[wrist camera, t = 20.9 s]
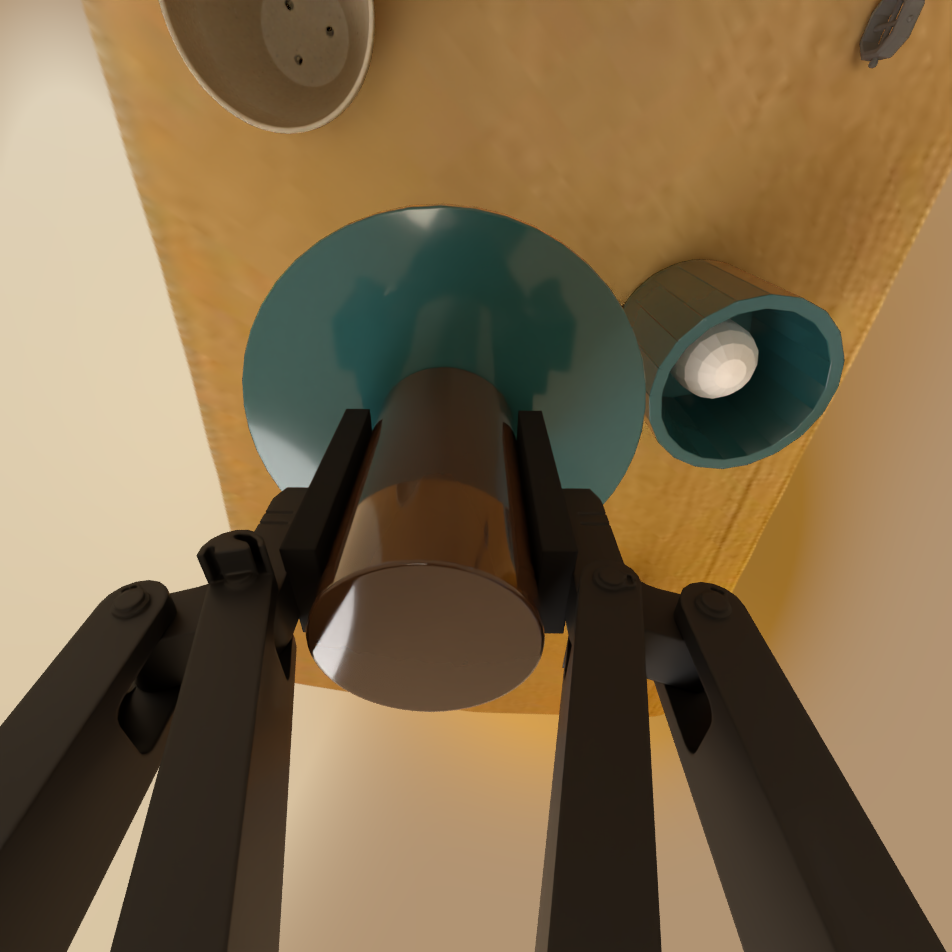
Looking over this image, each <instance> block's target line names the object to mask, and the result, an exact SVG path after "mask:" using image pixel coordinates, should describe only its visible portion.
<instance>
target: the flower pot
mask: <svg viewBox="0 0 952 952" xmlns="http://www.w3.org/2000/svg"><path fill="white" fill-rule="evenodd" d="M159 4H160V7H161V11H162V14H163V17H164V20H165V22H166V25H167V28H168V30H169V33H170V35H171V38H172V40H173V42H174V44H175V46H176V48H177V50H178V52H179V54H180V55H181V57H182V59H183V61H184V62H185V64H186V66H187V67H188V69H189V70H190V71H191V73H192V74H193V76H194V77H195V78H196V79H197V81H198V82H199V83H200V84H201V86H202V87H203V88H204V89H205V90H206V92H207V93H208V94H209V95H210V96H211V97H212V98H213V99H214V100H215V101H217V102H218V103H219V104H220V105H221V106H222V107H223V108H225V109H226V110H227V111H229V112H230V113H232V114H233V115H234V116H236V117H237V118H239V119H241V120H243V121H244V122H246V123H248V124H250V125H252V126H255V127H257V128H260V129H263V130H267V131H271V132H275V133H285V134H292V133H302V132H307V131H311V130H314V129H317V128H319V127H322V126H324V125H326V124H328V123H329V122H331V121H332V120H334V119H335V118H337V117H338V116H339V115H340V114H341V113H343V112H344V111H345V110H346V109H347V107H348V106H349V105H350V104H351V103H352V101H353V100H354V99H355V97H356V96H357V94H358V92H359V91H360V89H361V87H362V85H363V83H364V80H365V78H366V75H367V72H368V69H369V66H370V62H371V58H372V53H373V46H374V36H375V11H374V0H159ZM286 4H288V5H289V6H290V10H289V9H288V8H287V7H286ZM328 27H331V28H332V30H331V31H327V28H328ZM301 58H302V63H301V64H300V59H301Z"/></svg>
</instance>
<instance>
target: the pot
mask: <svg viewBox="0 0 952 952" xmlns="http://www.w3.org/2000/svg"><path fill="white" fill-rule="evenodd" d="M623 309H624V311H625V313H626V315H627V317H628V319H629V322H630V324H631V326H632V328H633V330H634V332H635V335H636V338H637V342H638V345H639V349H640V352H641V355H642V359H643V366H644V373H645V381H646V408H645V415H644V420H645V422H646V424H647V425H648V427H649V428H650V430H651V432H652V433H653V435H654V436H655V438H656V439H657V441H658V443H659V444H660V445H661V446H662V447H664V448H665V449H666V450H667V451H668V452H669V453H670V454H671V455H672V456H673V457H674V458H676V459H679V460H681V461H683V462H686V463H688V464H690V465H693V466H695V467H696V466H697V467H705V468H716V469H725V468H731V467H737V466H743V465H748V464H751V463H753V462H756V461H758V460H761V459H763V458H765V457H768V456H770V455H773V454H775V453H777V452H779V451H780V450H782V449H783V448H784V447H786V446H787V445H789V444H790V443H792V442H793V441H795V440H796V439H798V438H799V437H801V435H803V434H804V433H805V432H806V431H807V430H808V429H809V428H810V427H811V426H812V424H813V423H814V422H815V421H816V420H817V419H818V418H819V417H820V416H821V415H822V414H823V412H824V411H825V409H826V408H827V406H828V404H829V402H830V401H831V399H832V397H833V395H834V394H835V392H836V390H837V388H838V386H839V382H840V378H841V374H842V369H843V365H844V361H845V359H844V351H843V345H842V338H841V332H840V330H839V329H838V327H837V326H836V324H835V323H834V321H833V320H832V318H831V317H830V316H829V314H828V313H827V312H826V311H825V310H824V309H822V308H820V307H818V306H817V305H815V304H813V303H811V302H809V301H808V300H806V299H804V298H802V297H800V296H798V295H796V294H793V293H791V292H789V291H787V290H785V289H782V288H780V287H778V286H776V285H774V284H772V283H769V282H767V281H765V280H763V279H761V278H758V277H756V276H754V275H752V274H750V273H747V272H745V271H743V270H741V269H739V268H737V267H734V266H732V265H730V264H728V263H725V262H719V261H715V260H707V259H698V260H689V261H684V262H680V263H677V264H674V265H671V266H669V267H667V268H665V269H663V270H661V271H659V272H658V273H656V274H654V275H653V276H651V277H650V278H649V279H647V280H646V281H645V282H644V283H642V284H641V285H640V286H639V287H638V288H637V289H636V290H635V291H634V292H633V294H632V295H631V296H630V297H629V299H628V300H627V301H626V303H625V304H624V306H623ZM728 319H731V320H733V321H734V322H736V323H737V324H739V325H740V326H741V327H743V328H744V329H745V330H747V331H748V332H749V333H750V334H751V336H752V338H753V339H754V341H755V344H756V346H757V348H758V363H757V366H756V368H755V370H754V372H753V374H752V376H751V378H750V380H749V381H748V382H747V383H746V384H745V385H744V386H743V387H742V388H741V389H739V390H737V391H736V392H734V393H732V394H730V395H727V396H723V397H719V398H714V399H711V398H704V397H699V396H697V395H695V394H693V393H692V392H690V391H689V390H687V389H686V388H684V387H683V386H682V385H681V384H680V383H679V382H678V381H677V380H676V379H675V377H674V376H673V375H672V374H671V373H670V371H671V369H672V368H673V367H674V365H675V364H676V362H677V361H678V360H679V358H680V357H681V355H682V354H683V353H684V351H685V350H686V348H687V347H689V346H690V345H691V344H692V343H693V342H695V341H696V340H697V339H698V338H699V337H700V336H702V335H703V334H704V333H705V332H706V331H707V330H709V329H710V328H712V327H714V326H716V325H718V324H720V323H722V322H724V321H726V320H728Z"/></svg>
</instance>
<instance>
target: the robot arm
mask: <svg viewBox="0 0 952 952" xmlns="http://www.w3.org/2000/svg"><path fill="white" fill-rule="evenodd" d="M371 434H372V424H371V415H370V409H346V410H345V412H344V414H343V416H342V419H341V421H340V423H339V425H338V427H337V429H336V431H335V433H334V435H333V437H332V439H331V441H330V444H329V446H328V448H327V450H326V452H325V454H324V456H323V458H322V460H321V462H320V464H319V467H318V469H317V471H316V473H315V475H314V477H313V479H312V481H311V483H310V485H309V487H287V488H285V489H284V490H283V491H282V492H280V493H279V494H278V495H277V496H276V497H274V498H273V500H272V501H271V503H270V505H269V507H268V509H267V510H266V514H264V516H263V517H262V519H261V521H260V524H258V526H257V528H256V530H255V532H253V531H250V530H235V531H231V532H227V533H223V534H221V535H219V536H217V537H215V538H213V539H211V540H210V541H208V542H207V543H206V544H205V545H204V546H202V547H201V549H200V551H199V552H198V554H197V558H198V560H199V563H200V565H201V567H202V569H203V572H204V574H205V577H206V579H207V581H208V584H207V585H203V586H200V587H196V588H192V589H188V590H183V591H179V592H175V593H169V591H168V589H167V588H166V586H164V585H163V584H162V583H160V582H157V581H151V580H147V581H139V582H134V583H132V584H129V585H126V586H123V587H121V588H119V589H118V590H116V591H114V592H113V593H111V594H109V595H108V596H107V597H106V598H105V599H104V600H103V601H102V602H101V603H100V604H99V605H98V606H97V607H96V608H95V610H94V611H93V612H92V614H91V615H90V616H89V617H88V618H87V620H86V621H85V622H84V623H83V625H82V626H81V627H80V628H79V630H78V631H77V632H76V633H75V635H74V636H73V637H72V638H71V639H70V641H69V642H68V643H67V644H66V646H65V647H64V648H63V649H62V651H61V652H60V653H59V654H58V656H57V657H56V658H55V659H54V660H53V662H52V663H51V664H50V665H49V667H48V668H47V669H46V670H45V672H44V673H43V674H42V675H41V677H40V678H39V679H38V680H37V682H36V683H35V684H34V685H33V686H32V688H31V689H30V690H29V692H28V693H27V694H26V695H25V696H24V698H23V699H22V700H21V701H20V703H19V704H18V705H17V706H16V708H15V709H14V710H13V711H12V712H11V714H10V715H9V716H8V717H7V719H6V720H5V721H4V723H3V724H2V725H1V726H0V952H67V950H68V948H69V946H70V944H71V942H72V940H73V938H74V936H75V934H76V932H77V930H78V928H79V926H80V924H81V922H82V920H83V918H84V916H85V914H86V912H87V910H88V908H89V906H90V904H91V902H92V900H93V898H94V896H95V894H96V892H97V890H98V888H99V886H100V884H101V882H102V880H103V878H104V876H105V874H106V872H107V870H108V868H109V866H110V864H111V862H112V860H113V858H114V856H115V854H116V852H117V850H118V848H119V846H120V844H121V842H122V840H123V838H124V836H125V834H126V832H127V830H128V828H129V826H130V824H131V822H132V820H133V818H134V816H135V814H136V812H137V810H138V808H139V806H140V804H141V802H142V800H143V798H144V796H145V794H146V792H147V790H148V788H149V786H150V784H151V782H152V780H153V778H154V776H155V774H156V772H157V770H158V768H159V771H158V774H157V778H156V782H155V786H154V789H153V793H152V797H151V801H150V804H149V808H148V812H147V816H146V819H145V823H144V827H143V831H142V834H141V838H140V842H139V846H138V849H137V853H136V857H135V861H134V864H133V868H132V872H131V876H130V879H129V883H128V887H127V891H126V894H125V898H124V902H123V906H122V909H121V913H120V917H119V921H118V924H117V928H116V932H115V935H114V939H113V943H112V947H111V951H110V952H278V951H279V934H280V917H281V902H282V885H283V868H284V851H285V834H286V817H287V800H288V783H289V766H290V749H291V731H292V715H293V698H294V682H295V665H296V648H297V647H296V642H295V638H294V635H293V633H294V630H295V627H296V625H297V622H298V619H300V623H301V626H302V630H303V632H306V622H307V618H308V614H309V611H310V608H311V605H312V602H313V600H314V597H315V594H316V591H317V588H318V585H319V582H320V580H321V577H322V574H323V571H324V568H325V565H326V562H327V560H328V557H329V554H330V551H331V548H332V545H333V542H334V540H335V537H336V534H337V531H338V528H339V525H340V522H341V520H342V517H343V514H344V511H345V508H346V505H347V502H348V500H349V497H350V494H351V491H352V488H353V485H354V482H355V480H356V477H357V474H358V471H359V468H360V465H361V462H362V459H363V457H364V454H365V451H366V448H367V445H368V442H369V439H370V437H371ZM516 443H517V450H518V457H519V463H520V470H521V477H522V484H523V491H524V497H525V504H526V511H527V518H528V525H529V531H530V538H531V545H532V552H533V559H534V566H535V572H536V579H537V586H538V593H539V600H540V606H541V613H542V620H543V627H544V633H563V632H564V626H565V621H566V624H567V629H568V634H569V636H568V641H567V647H566V652H565V657H564V662H563V667H562V668H564V674H563V684H562V694H561V703H560V713H559V723H558V733H557V742H556V752H555V762H554V772H553V781H552V792H551V801H550V810H549V820H548V830H547V839H546V849H545V860H544V868H543V878H542V888H541V897H540V907H539V917H538V927H537V936H536V946H535V952H661V934H660V916H659V898H658V878H657V860H656V842H655V825H654V824H655V823H654V806H653V805H654V804H653V787H652V769H651V749H650V731H649V712H648V694H647V679H650V680H654V683H655V686H656V689H657V692H658V695H659V698H660V701H661V704H662V707H663V710H664V713H665V716H666V718H667V721H668V724H669V727H670V731H671V734H672V736H673V740H674V743H675V746H676V748H677V752H678V755H679V758H680V761H681V764H682V767H683V770H684V773H685V776H686V778H687V782H688V785H689V787H690V791H691V793H692V797H693V800H694V802H695V805H696V808H697V812H698V815H699V818H700V820H701V824H702V827H703V830H704V833H705V836H706V839H707V842H708V845H709V848H710V851H711V854H712V856H713V860H714V863H715V866H716V869H717V872H718V875H719V878H720V881H721V884H722V887H723V890H724V893H725V896H726V899H727V902H728V905H729V908H730V911H731V914H732V917H733V920H734V923H735V925H736V928H737V932H738V935H739V938H740V941H741V944H742V947H743V950H744V952H946V951H945V949H944V947H943V945H942V944H941V942H940V940H939V938H938V937H937V935H936V933H935V932H934V930H933V928H932V926H931V925H930V923H929V921H928V920H927V918H926V916H925V914H924V913H923V911H922V909H921V908H920V906H919V904H918V903H917V901H916V899H915V897H914V896H913V894H912V892H911V890H910V889H909V887H908V885H907V884H906V882H905V880H904V878H903V877H902V875H901V873H900V872H899V870H898V868H897V866H896V865H895V863H894V861H893V860H892V858H891V856H890V855H889V853H888V851H887V849H886V848H885V846H884V844H883V842H882V841H881V839H880V837H879V836H878V834H877V832H876V830H875V829H874V827H873V825H872V824H871V822H870V820H869V818H868V817H867V815H866V813H865V812H864V810H863V808H862V806H861V805H860V803H859V801H858V800H857V798H856V796H855V794H854V793H853V791H852V789H851V788H850V786H849V784H848V782H847V781H846V779H845V777H844V776H843V774H842V772H841V770H840V769H839V767H838V765H837V764H836V762H835V760H834V758H833V757H832V755H831V753H830V752H829V750H828V748H827V746H826V745H825V743H824V741H823V740H822V738H821V737H820V735H819V733H818V731H817V729H816V728H815V726H814V724H813V722H812V721H811V719H810V717H809V716H808V714H807V712H806V710H805V709H804V707H803V705H802V704H801V702H800V700H799V698H798V697H797V695H796V693H795V692H794V690H793V688H792V686H791V685H790V683H789V681H788V680H787V678H786V676H785V674H784V673H783V671H782V669H781V668H780V666H779V664H778V663H777V661H776V659H775V657H774V656H773V654H772V652H771V650H770V649H769V647H768V645H767V644H766V642H765V640H764V638H763V637H762V635H761V633H760V632H759V630H758V628H757V626H756V625H755V623H754V621H753V620H752V618H751V616H750V614H749V613H748V611H747V609H746V608H745V606H744V605H743V604H742V602H741V601H740V600H739V599H738V598H737V597H736V596H735V595H734V594H732V593H731V592H729V591H728V590H727V589H725V588H722V587H720V586H717V585H715V584H710V583H704V582H698V583H692V584H689V585H688V586H686V587H685V588H683V590H682V592H681V594H677V593H673V592H669V591H665V590H661V589H657V588H655V587H652V586H649V585H647V584H645V583H643V582H641V581H640V579H639V577H638V575H637V574H636V573H635V572H634V571H633V570H632V569H631V568H629V567H628V566H626V565H625V564H624V563H623V560H622V557H621V554H620V551H619V549H618V546H617V543H616V540H615V537H614V535H613V532H612V529H611V526H609V521H608V518H607V515H605V513H606V512H605V510H604V507H603V504H602V501H601V499H600V498H599V497H598V496H597V495H596V494H595V493H594V492H593V491H592V490H591V489H579V488H562V487H561V483H560V479H559V475H558V471H557V467H556V463H555V460H554V456H553V452H552V448H551V444H550V440H549V436H548V432H547V429H546V425H545V421H544V417H543V413H542V411H519V412H518V426H517V440H516ZM159 766H160V767H159Z"/></svg>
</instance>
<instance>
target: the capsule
mask: <svg viewBox="0 0 952 952" xmlns="http://www.w3.org/2000/svg"><path fill="white" fill-rule="evenodd" d="M757 363H758V348H757V346H756V344H755V341H754V339H753V338H752V336H751V334H750V333H749V332H748V331H747V330H745V329H744V328H743V327H741V326H740V325H739V324H737V323H736V322H734V321H733V320H731V319H728V320H726V321H724V322H722V323H720V324H718V325H716V326H714V327H712V328H710V329H709V330H707V331H706V332H705V333H704V334H703V335H702V336H700V337H699V338H698V339H697V340H696V341H695V342H693V343H692V344H691V345H690V346H689V347H687V348H686V350H685V351H684V353H683V354H682V355H681V357H680V358H679V360H678V361H677V362H676V364H675V365H674V367H673V368H672V369H671V371H670V373H671V374H672V375H673V376H674V377H675V379H676V380H677V381H678V382H679V383H680V384H681V385H682V386H683V387H684V388H686V389H687V390H689V391H690V392H692V393H693V394H695V395H697V396H699V397H704V398H711V399H714V398H719V397H723V396H727V395H730V394H732V393H734V392H736V391H737V390H739V389H741V388H742V387H743V386H744V385H745V384H746V383H747V382H748V381H749V380H750V378H751V376H752V374H753V372H754V370H755V368H756V366H757Z"/></svg>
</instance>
